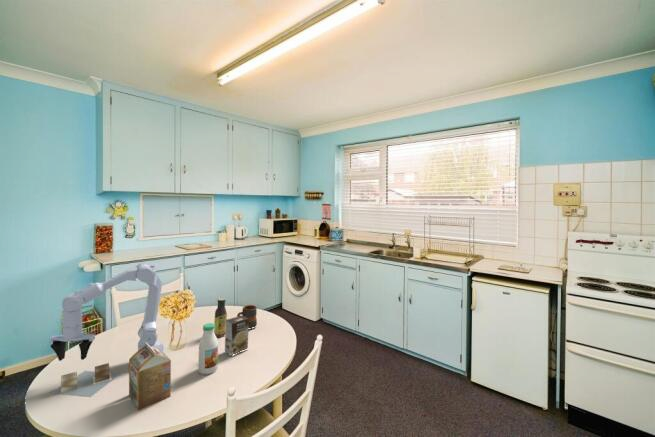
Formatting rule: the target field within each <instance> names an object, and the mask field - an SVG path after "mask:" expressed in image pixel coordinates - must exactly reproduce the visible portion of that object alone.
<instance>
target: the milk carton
mask: <svg viewBox="0 0 655 437" xmlns="http://www.w3.org/2000/svg"><path fill="white" fill-rule="evenodd" d="M128 361H129V362H128V396H129V397H130V400H131V402H132V404H133V405H134V407H135V409H136V410H137V411H142V410H143V409H145V408H148V407H150V406H153V405H154V404H157V403H159V402H161V401H163V400H166V399H168V398H170V397H171V393H172V392H171V383H172V382H171V381H172V380H171V379H172V376H171V375H172V374H171V372H172V360H171V358H170V357H169V356H167V355H166V354H165V352H164V351H163V352H162V351H161V350H160V349H158V348H156V347H153V346H149V345H148V344H147V342H145V346H144V347H142V348H141V349H140V350H139V351H138V350H137V351H136V352H135V353H134V354H133V355H132V356H131V357H129V359H128Z"/></svg>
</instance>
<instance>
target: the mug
mask: <svg viewBox="0 0 655 437" xmlns="http://www.w3.org/2000/svg"><path fill="white" fill-rule="evenodd" d="M257 309H258V308H257V306H256V305H254V304H253V305H252V304H248V305H244V306H243V307H242V311H239V312H238V313H237V315H236V317H238V316H241V315H242V316H245V317H247V318H249V328H252V327H255V326H256V325H258V324H257V322H258V320H257V315H258V314H257V312H258V310H257ZM256 327H257V326H256ZM256 327H255V328H256Z"/></svg>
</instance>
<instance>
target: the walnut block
mask: <svg viewBox="0 0 655 437" xmlns="http://www.w3.org/2000/svg"><path fill="white" fill-rule="evenodd" d="M110 368H111V367H110V364H109V362H107V363H104V364H100V365H96V366H94V372H95V383H97V382H101V381H104V380H107V379H110V373H111V372H110V370H111V369H110Z"/></svg>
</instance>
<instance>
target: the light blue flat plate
mask: <svg viewBox="0 0 655 437" xmlns="http://www.w3.org/2000/svg"><path fill="white" fill-rule="evenodd" d="M120 375H121V373H115V372H110V379H107V380H104V381H101V382H97V383H95V370H94V371H93V370H84V371H82V372H80V373H79V374H77V389H74V390H70V391H67V392H64V393H61V385H60V386H59V387H57V388H55V389H54V390H52V391H51V392H50V394H54V395H64V396H72V397H73V396H76V397H86V398H91V397H93V396H94V395H96V394H97V393H98V392H100V391H101V390H102V389H104V388H105V387H106V386H107V385H109V384H110V383H111V382H113V381H114V380H115V379H116V378H118V377H119V376H120Z"/></svg>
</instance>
